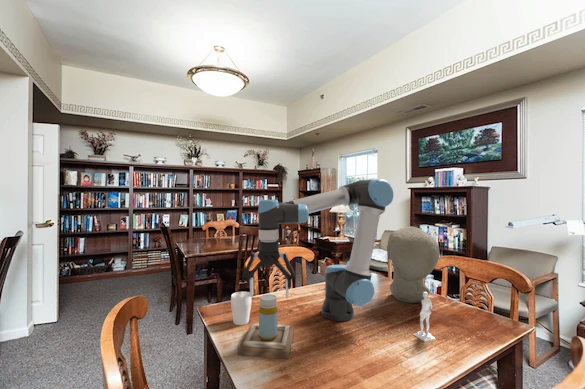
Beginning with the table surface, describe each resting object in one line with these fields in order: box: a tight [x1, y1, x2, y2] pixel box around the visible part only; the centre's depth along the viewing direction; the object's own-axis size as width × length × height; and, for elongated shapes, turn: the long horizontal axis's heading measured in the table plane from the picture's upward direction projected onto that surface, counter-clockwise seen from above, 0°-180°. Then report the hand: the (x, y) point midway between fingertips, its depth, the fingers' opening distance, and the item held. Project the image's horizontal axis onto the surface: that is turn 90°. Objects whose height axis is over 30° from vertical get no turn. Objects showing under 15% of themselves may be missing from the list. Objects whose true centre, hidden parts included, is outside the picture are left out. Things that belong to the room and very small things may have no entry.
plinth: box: [237, 322, 295, 360], centre depth 105 cm, size 18×18×4 cm
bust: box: [386, 225, 440, 304], centre depth 146 cm, size 25×28×40 cm
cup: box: [230, 291, 252, 326], centre depth 123 cm, size 9×9×12 cm
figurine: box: [413, 292, 436, 343], centre depth 111 cm, size 8×7×18 cm
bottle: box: [258, 293, 279, 341], centre depth 105 cm, size 7×7×15 cm
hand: (269, 296), depth 105 cm, fingers open, 13 cm apart
